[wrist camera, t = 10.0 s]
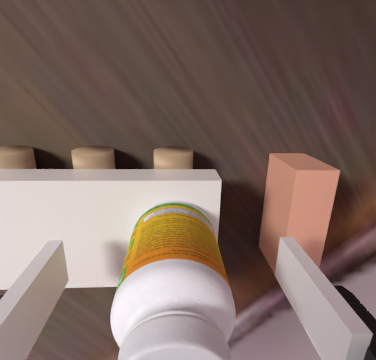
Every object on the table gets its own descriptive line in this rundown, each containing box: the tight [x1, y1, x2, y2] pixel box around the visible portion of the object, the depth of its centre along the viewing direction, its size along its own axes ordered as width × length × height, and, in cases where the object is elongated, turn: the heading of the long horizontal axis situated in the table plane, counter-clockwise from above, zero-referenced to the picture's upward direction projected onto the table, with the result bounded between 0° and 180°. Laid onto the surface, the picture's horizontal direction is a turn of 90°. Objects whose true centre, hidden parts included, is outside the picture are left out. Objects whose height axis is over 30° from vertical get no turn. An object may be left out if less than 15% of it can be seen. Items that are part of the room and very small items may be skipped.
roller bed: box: [0, 146, 193, 169], centre depth 21 cm, size 15×10×3 cm, turn 89°
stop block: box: [259, 153, 340, 274], centre depth 21 cm, size 3×9×5 cm, turn 179°
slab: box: [0, 169, 222, 290], centre depth 19 cm, size 18×8×2 cm, turn 89°
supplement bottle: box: [111, 201, 236, 360], centre depth 13 cm, size 5×5×10 cm
